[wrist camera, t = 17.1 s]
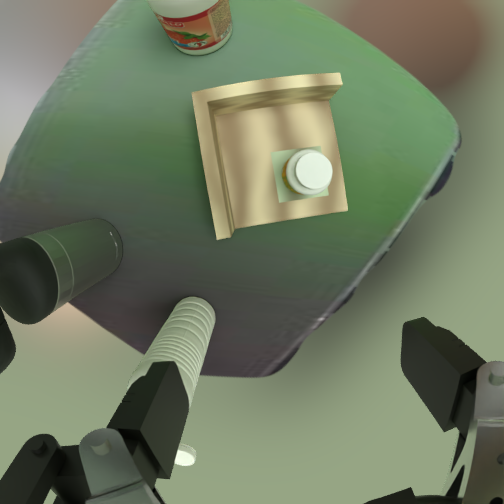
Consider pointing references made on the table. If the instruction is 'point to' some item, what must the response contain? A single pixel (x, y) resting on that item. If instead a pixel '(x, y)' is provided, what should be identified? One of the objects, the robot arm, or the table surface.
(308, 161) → the supplement bottle
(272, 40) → the table surface
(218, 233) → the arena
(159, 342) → the water bottle
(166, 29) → the fruit juice
